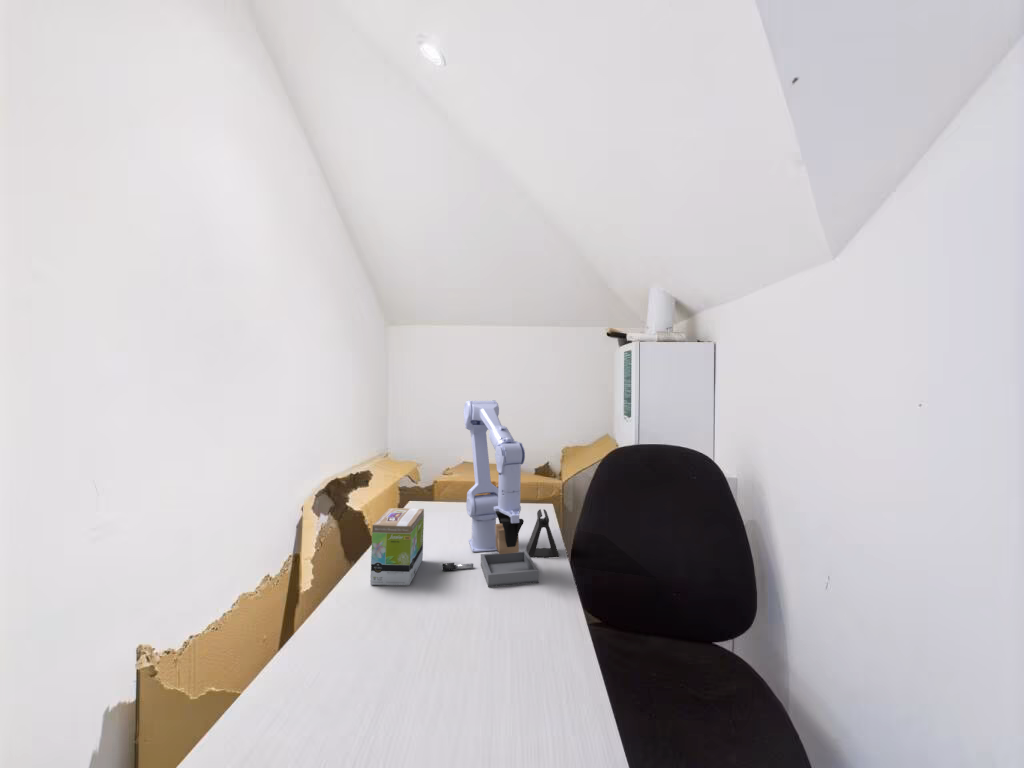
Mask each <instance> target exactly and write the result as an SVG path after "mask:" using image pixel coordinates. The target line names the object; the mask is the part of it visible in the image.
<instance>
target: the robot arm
mask: <svg viewBox="0 0 1024 768" xmlns="http://www.w3.org/2000/svg"><path fill="white" fill-rule="evenodd" d="M499 414H500V406H499V403H498V402H497V400H470V399H469V400H466V401H465V403H464V405H463V419H464V420H463V421H464V423H463V424H464V427H465V429H466V430H468V431H469V433H470V440H471V451H472V462H473V472H474V473H473V475H474V485H472V486H471V487H470V489H468V491H467V492H466V504H465V507H466V512H467V515H468V516H469V518H471V538H468V543H469V547H470V550H471V552H472V553H480V552H490V551H491V552H492V551H493V552H494V551H498V550H497V548H496V530H495V524H497V519H498V524H501V523H502V525H503V528H504V532H505V539H506V545H507V547H515V546H516V542H517V537H518V538H519V532H520V531H521V529H522V526H523V524H524V519H523V518H520V514H521V511H522V507H521V484H522V483H521V481H522V479H521V475H522V474H521V469H522V465H523V464H524V463H525V458H526V451H525V448H524V446H523V442H520V441H517V440H516V441H515V439H514V438H513V437H514V436H512V434H511V432H510V430H509V428H508V427H507V426H505V425H502V423H501V420H500V418H499ZM488 431H489V433H488V438H487V432H488ZM487 439H489V440H490V443H491V445H492V446H493V449H494V451H495V453H494V457H495V458H494V459H495V464H496V471H497V472H498V485H497V486H498V487H497V486H496V485H494V484H493V483H492V480H491V479H492V478H491V470H490V461H489V460H490V459H489V449H488V440H487Z"/></svg>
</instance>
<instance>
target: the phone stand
mask: <svg viewBox="0 0 1024 768" xmlns="http://www.w3.org/2000/svg"><path fill="white" fill-rule="evenodd" d="M536 514H537V515H536V517H537V518H536V520H535V524H534V527H533V530H532V532H531V536H530V537H529V540H528V542H527V545H526V551H527V553H528V555H529V556H530V558H535V557H537V559H538V558H539V559H540V558H544V559H545V558H546V559H547V558H549V557H560V554H559V551H558V548H557V545H556V541H555V539H554V536H553V534H552V530H551V528H550V525H549V524H550V517H549V515H548V512H547V510H546V509H543V512H542V509H541V508H540V509H538V510H537V513H536ZM543 514H544V517H543ZM542 517H543V518H542ZM543 528H545V531H546V535H547V539H548V542H549V546H550V547H537V546H538V544H539V543H538V542H539V538H540V536H541V531H542V529H543ZM535 559H536V558H535ZM549 559H550V558H549Z"/></svg>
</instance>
